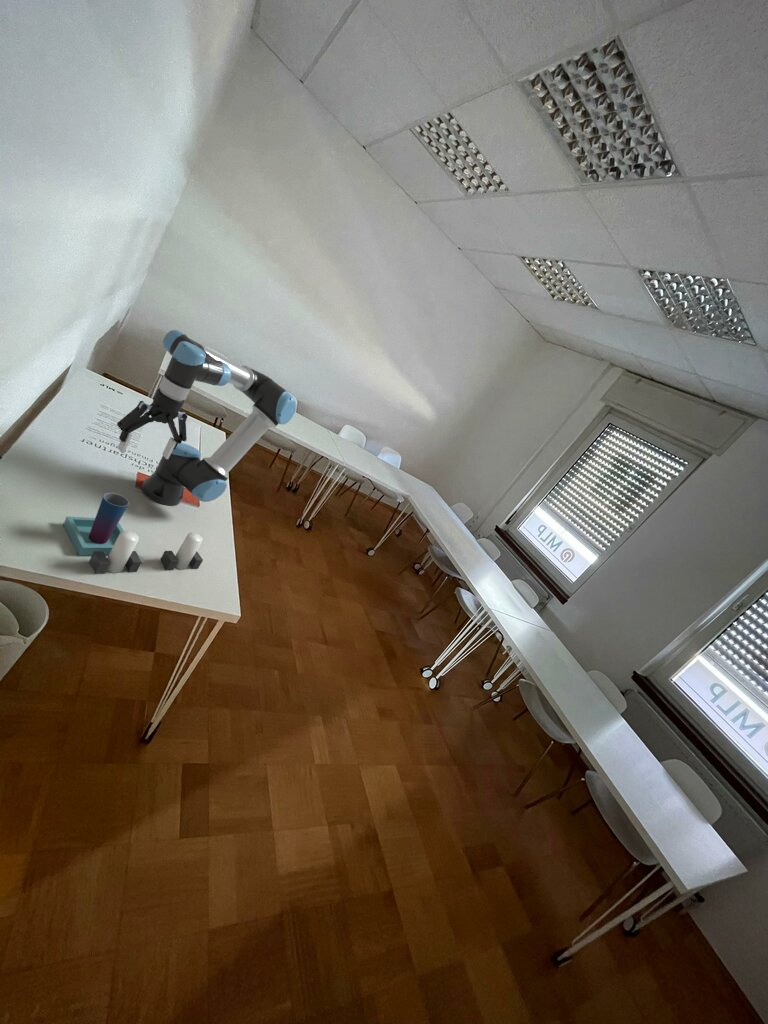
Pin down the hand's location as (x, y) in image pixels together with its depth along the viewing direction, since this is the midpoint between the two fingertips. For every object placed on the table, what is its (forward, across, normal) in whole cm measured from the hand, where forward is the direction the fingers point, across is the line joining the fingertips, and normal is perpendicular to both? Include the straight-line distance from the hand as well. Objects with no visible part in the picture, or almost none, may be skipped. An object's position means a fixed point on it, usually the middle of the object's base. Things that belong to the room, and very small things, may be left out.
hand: (144, 453), depth 129 cm
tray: (+28, +7, +8) cm, 30 cm away
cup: (+28, +7, +8) cm, 29 cm away
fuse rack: (+28, -3, +20) cm, 35 cm away
